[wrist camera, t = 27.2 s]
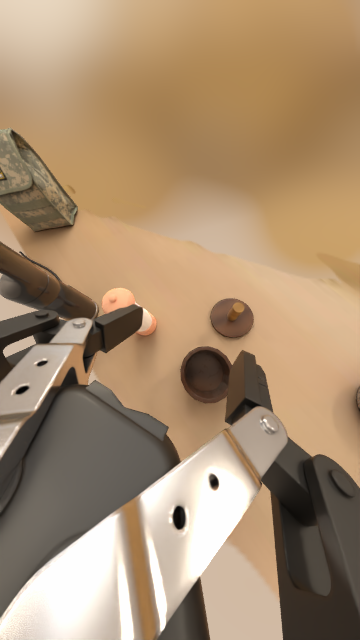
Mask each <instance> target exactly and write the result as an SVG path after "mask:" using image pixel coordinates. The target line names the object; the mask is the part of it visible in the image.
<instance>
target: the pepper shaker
mask: <svg viewBox="0 0 360 640" xmlns="http://www.w3.org/2000/svg"><path fill="white" fill-rule="evenodd" d="M132 304H135V305H138V304H137V303H136V302H135V299H134V296H133V294H132V293H131V292H130V291H128V290H127V289H124V288H115V289H112V290H110V291H109V292H107V293H106V294H105V296H104V297H103V300H102V309H103V311H104V313H105V314H107V313H109V312H112V311H114V310H116V309H119V308H124V307H128V306H130V305H132ZM138 306H139V305H138ZM140 307H141V306H140ZM142 308H143V307H142ZM156 324H157V323H156V319H155V318H154V317H153V316H152V314H151V313H149V312H147V310H146V309H144V308H143V320H142V326H141V328H140V329H139V330H138V331H137V333H138V334H140V335H149V334H151V333H152V332H153V331H154V330H155V328H156Z"/></svg>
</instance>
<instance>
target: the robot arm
mask: <svg viewBox="0 0 360 640" xmlns="http://www.w3.org/2000/svg"><path fill="white" fill-rule="evenodd" d="M20 253H21V254H22V255H23V256H24V257H25V258H24V257H23V256H21V255H20V254H18V253H17V252H15V251H14V250H12V249H11V248H9V247H8V246H6V245H4V244H3V243H2V242H0V273H1V274H3V275H2V277H1V279H0V294H1V295H2V296H3V297H4V298H6V299H9V300H11V301H14V302H17V303H20V304H23V305H26V306H29V307H31V308H34V309H37V310H40V311H35V312H31V313H28V314H25V315H21V316H18V317H14V318H10V319H7V320H3V321H0V640H210V636H209V629H208V623H207V617H206V611H205V604H204V598H203V592H202V586H201V580H200V575H201V573H202V572H203V571H204V569H205V568H206V566H207V565H208V564H209V562H210V561H211V559H212V557H213V556H214V555H215V554H216V552H217V551H218V549H219V548H220V546H221V545H222V544H223V542H224V541H225V539H226V538H227V537H228V535H229V534H230V532H231V531H232V529H233V528H234V527H235V525H236V524H237V522H238V521H239V519H240V518H241V517H242V515H243V514H244V512H245V511H246V509H247V508H248V507H249V505H250V504H251V502H252V501H253V499H254V498H255V497H256V495H257V494H258V492H259V491H260V489H261V486H262V483H261V481H262V482H263V484H264V485H265V486H266V487H267V488H268V489H269V490H270V491H271V503H272V514H273V526H274V538H275V549H276V561H277V573H278V584H279V596H280V608H281V619H282V631H283V640H360V488H359V487H358V486H357V484H356V483H355V482H354V480H353V479H352V478H351V477H350V475H349V474H348V473H347V472H346V471H345V470H344V469H343V468H342V467H341V466H340V465H338V464H337V463H336V462H335V461H333V460H332V459H330V458H329V457H327V456H324V455H320V454H319V455H316V456H313V457H311V456H310V455H309V454H308V453H307V452H305V451H304V450H303V449H302V448H301V447H299V446H298V445H297V444H296V443H295V442H293V441H292V440H291V439H290V438H289V437H288V435H287V432H286V429H285V427H284V425H283V424H282V422H281V421H280V419H279V418H278V417H277V416H276V415H275V414H274V413H273V409H272V405H271V400H270V395H269V390H268V385H267V382H266V376H265V373H264V371H263V370H262V368H261V366H259V365H257V364H256V360H255V355H253V354H250V353H248V352H246V351H243V350H242V351H241V352H240V354H239V356H238V357H237V359H236V360H235V362H234V364H233V365H232V367H231V370H230V374H229V384H228V394H227V404H226V415H225V422H227V423H228V424H230V425H231V426H230V427H229V428H228V429H224V430H223V431H221V432H220V433H219V434H217V435H216V436H215V437H213V438H212V439H211V440H210V441H208V442H207V443H206V444H204V445H203V446H202V447H200V448H199V449H198V450H196V451H195V452H194V453H193V454H191V455H190V456H189V457H187V458H186V459H185V460H183V461H182V462H181V461H180V458H179V455H178V453H177V450H176V448H175V446H174V445H173V443H172V441H171V440H170V438H169V437H168V436H167V435H166V433H167V430H168V428H169V427H168V426H166V425H164V424H163V423H161V422H160V421H158V420H157V419H155V418H154V417H152V416H150V415H149V414H146V413H142V412H139V411H135V410H132V409H128V408H125V407H124V406H123V405H122V404H121V402H120V401H119V400H118V398H117V397H116V396H115V395H114V393H113V392H112V391H111V390H110V389H109V388H107V387H105V386H104V385H102V384H101V383H99V382H98V381H96V380H95V381H93V382H92V383H91V384H90V385H88V379H89V376H90V373H91V370H92V367H93V364H94V362H95V359H96V356H97V351H99V350H101V351H103V352H104V353H107V352H108V351H110V350H111V349H113V348H114V347H115V346H117V345H118V344H120V343H121V342H123V341H124V340H125V339H127V338H128V337H130V336H131V335H132V334H134V333H135V332H137V331H138V330H139V329H140V328H141V326H142V320H143V308H142V307H140V306H138V305H135V304H132V305H130V306H128V307H124V308H119V309H116V310H114V311H112V312H109V313H107V314H104V315H102V316H100V317H97V318H96V316H97V314H98V305H97V304H96V303H95V302H94V301H92V299H90V298H89V297H87V296H85V295H84V294H82V293H81V292H79V291H77V290H76V289H74V288H73V287H71V286H69V285H65V284H64V283H62V282H61V280H60V279H59V278H58V276H57V275H56V274H55V273H54V272H52V271H51V270H50V269H48V268H47V267H45V266H43V265H41V264H39V263H37V262H34V261H32V260H30V259H29V258H27V257H26V256H25V255H24V254H23V253H22V252H20ZM30 261H31V262H33V263H35V264H37V265H39V266H41V267H43V268H45V269H47V270H48V271H50V272H51V273H52V274H53V275H54V276H55V277H56V278H57V279H55V278H54V277H52V276H50V275H49V274H47V273H46V272H44V271H42V270H41V269H39V268H38V267H36V266H35V265H34V264H33V263H31V262H30ZM59 317H61V318H63V319H66V320H69V321H65V320H61V319H59ZM32 335H33V337H34V339H35V341H36V344H35V345H33V346H30V347H28V348H26V349H24V350H22V351H19V352H17V353H15V354H13V355H11V356H8V357H6V358H5V356H4V354H3V350H4V348H5V347H6V346H7V345H9V344H12V343H14V342H16V341H19V340H22V339H24V338H27V337H29V336H32ZM260 480H261V481H260Z"/></svg>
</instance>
